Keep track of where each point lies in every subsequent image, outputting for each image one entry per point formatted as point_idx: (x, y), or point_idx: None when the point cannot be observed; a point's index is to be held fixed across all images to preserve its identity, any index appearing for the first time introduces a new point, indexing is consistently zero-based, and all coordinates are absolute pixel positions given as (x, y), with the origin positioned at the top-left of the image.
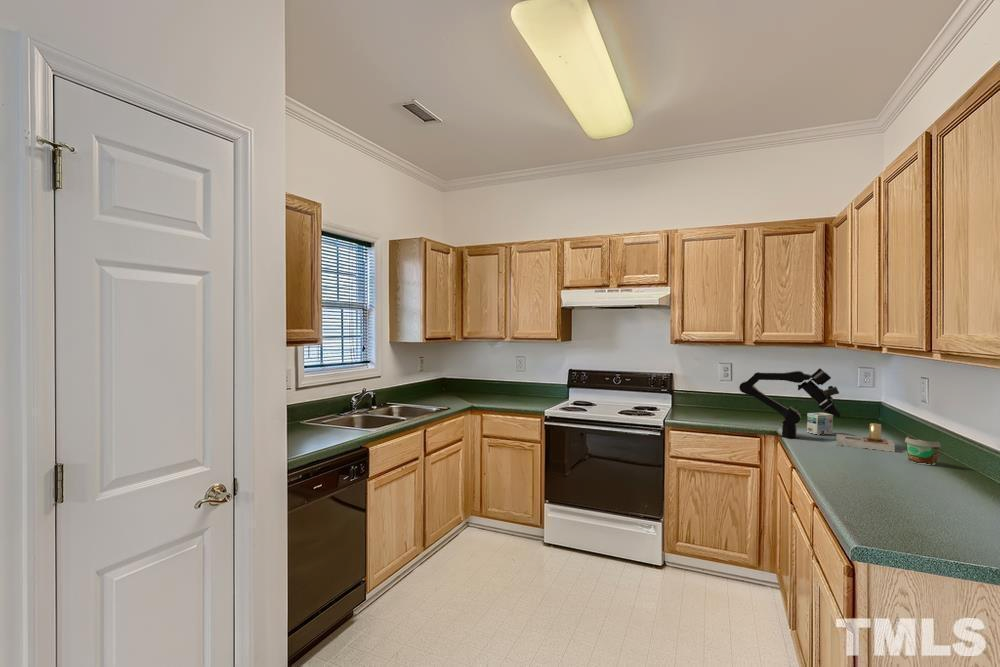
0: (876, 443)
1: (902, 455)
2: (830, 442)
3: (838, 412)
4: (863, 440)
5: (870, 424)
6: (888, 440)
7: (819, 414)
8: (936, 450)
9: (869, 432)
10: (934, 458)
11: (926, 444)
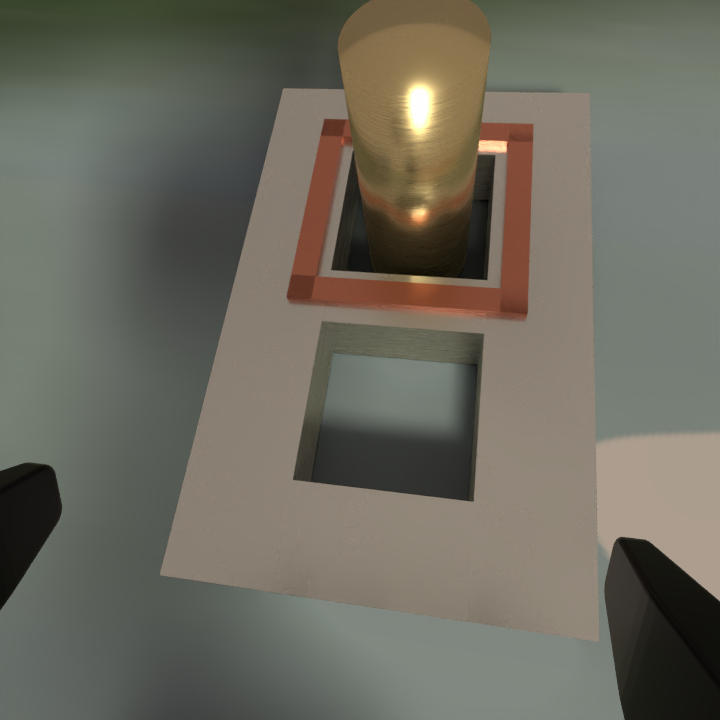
0: (583, 218)
1: (685, 111)
2: (399, 689)
3: (16, 514)
4: (474, 315)
5: (441, 97)
6: (327, 110)
7: None
8: None
9: (410, 197)
10: None
11: None
